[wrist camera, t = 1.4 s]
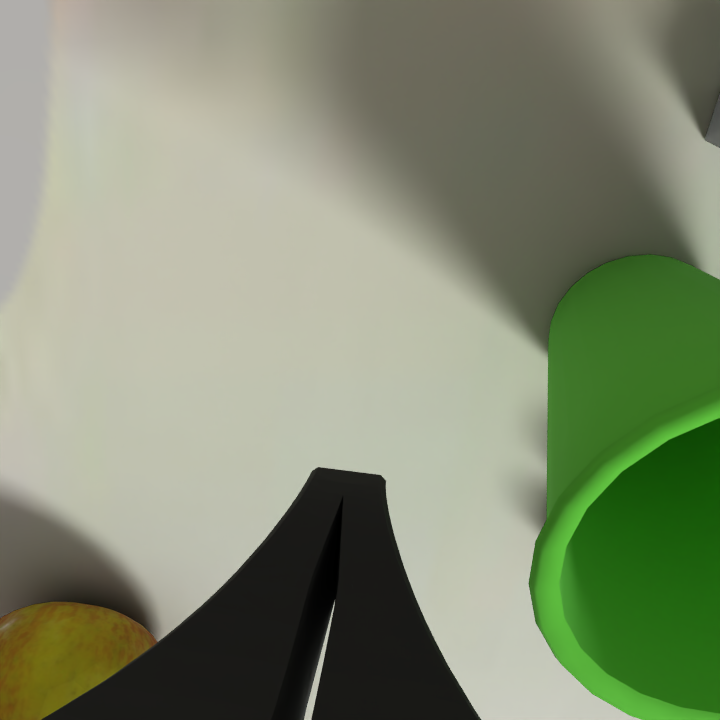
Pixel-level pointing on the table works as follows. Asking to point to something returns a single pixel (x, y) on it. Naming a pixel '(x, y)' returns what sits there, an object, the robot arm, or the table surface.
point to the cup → (635, 489)
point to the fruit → (62, 654)
